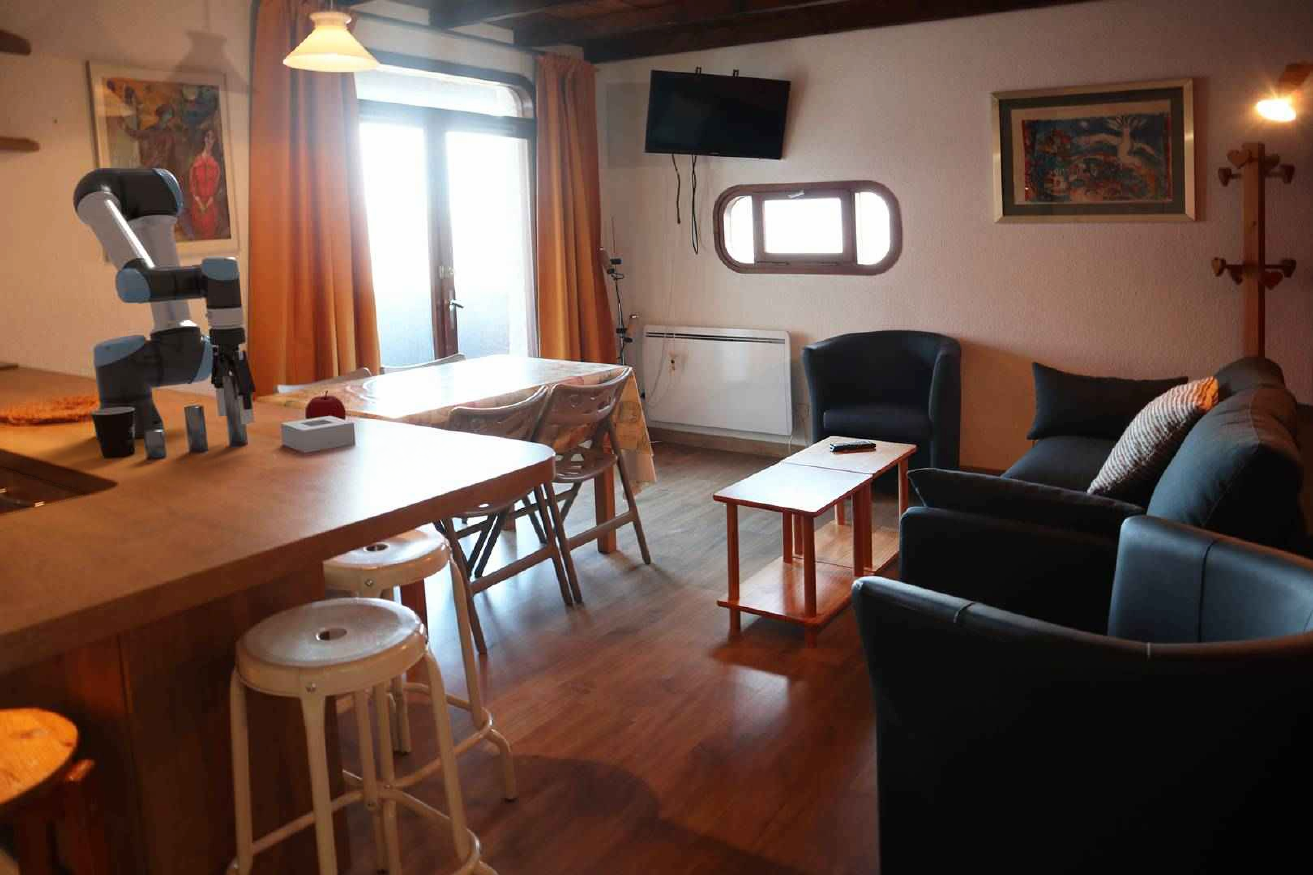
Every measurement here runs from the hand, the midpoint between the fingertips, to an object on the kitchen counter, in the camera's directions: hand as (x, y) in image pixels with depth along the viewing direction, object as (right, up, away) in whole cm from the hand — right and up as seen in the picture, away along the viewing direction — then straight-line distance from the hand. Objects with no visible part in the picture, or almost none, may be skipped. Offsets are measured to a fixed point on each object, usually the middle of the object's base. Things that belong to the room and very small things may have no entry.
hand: (236, 419), depth 246 cm
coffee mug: (-23, -8, -6) cm, 25 cm away
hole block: (+19, -6, 0) cm, 20 cm away
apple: (+16, -3, +15) cm, 22 cm away
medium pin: (-7, -7, -5) cm, 11 cm away
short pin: (-13, -8, -10) cm, 19 cm away
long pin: (0, -6, +1) cm, 6 cm away
